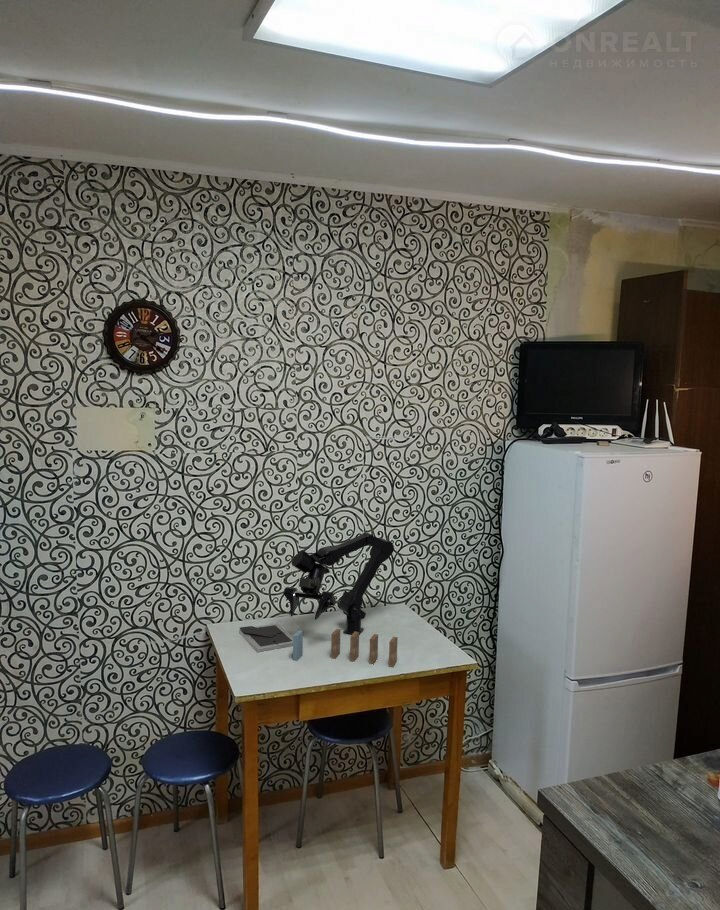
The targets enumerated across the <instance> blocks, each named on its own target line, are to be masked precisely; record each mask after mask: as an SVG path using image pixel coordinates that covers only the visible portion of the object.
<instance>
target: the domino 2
mask: <svg viewBox="0 0 720 910" xmlns="http://www.w3.org/2000/svg"><path fill="white" fill-rule="evenodd" d="M330 641H331V645H330V649H331V650H330V658H331V660H332V659H334V660H336V659H337V658H338V656H340V654H341V629H339V628H335V630H334V631H333V632H332V633H331V640H330Z"/></svg>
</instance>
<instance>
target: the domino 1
mask: <svg viewBox="0 0 720 910" xmlns="http://www.w3.org/2000/svg"><path fill="white" fill-rule="evenodd" d="M292 637H293V646H292V661H294V662H298V661H299V660H301V658H302V657H303V655H304V654H303V653H304V645H303V643H304V641H303V640H304V631H303V630H298V631H296V633H295V634H293V635H292Z"/></svg>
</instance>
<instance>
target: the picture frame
mask: <svg viewBox="0 0 720 910" xmlns="http://www.w3.org/2000/svg"><path fill="white" fill-rule="evenodd" d="M238 631H239V632H238V633H239V634H240V635H241V637H242V638H244V640H245V641H246V642H247V643H248V645H250V646H251V647H252V649H254V650H255V651H256V653H264V651H265V652H269V651H270V652H271V651H275V649H276V650H281V649H285V648H286V649H287V648H293V635H291V633H289V632H288V631H287V630H286V629H285V628H284V627H283V626H281V624H279V622H277V623H270V624H265V625H264V624H263V625H260V626H258V625H257V626H253V625H249V626H240V627H239V629H238Z"/></svg>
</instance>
